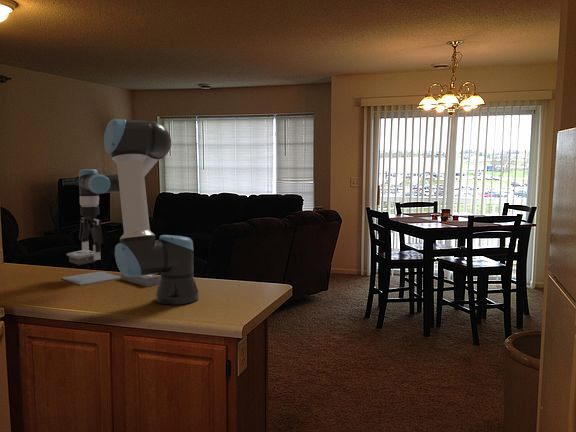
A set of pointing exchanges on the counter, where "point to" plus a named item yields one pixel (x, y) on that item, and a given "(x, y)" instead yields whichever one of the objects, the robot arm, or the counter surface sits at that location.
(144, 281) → the power strip
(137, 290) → the counter surface
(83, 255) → the electrical switch
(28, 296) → the counter surface
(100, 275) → the mat
